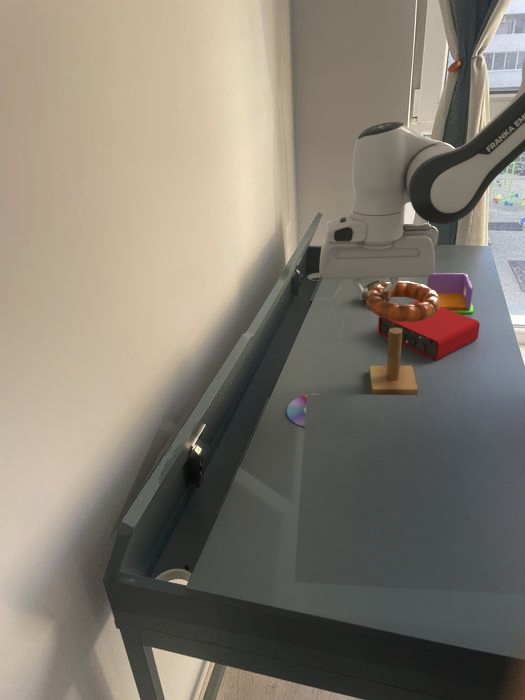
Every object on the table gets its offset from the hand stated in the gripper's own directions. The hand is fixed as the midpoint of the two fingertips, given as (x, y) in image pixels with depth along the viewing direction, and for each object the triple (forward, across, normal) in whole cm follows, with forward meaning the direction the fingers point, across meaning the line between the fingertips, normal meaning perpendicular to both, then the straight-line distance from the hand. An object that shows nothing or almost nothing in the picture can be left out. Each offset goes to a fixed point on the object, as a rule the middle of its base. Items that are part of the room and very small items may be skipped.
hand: (374, 298), depth 98 cm
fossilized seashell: (+21, -5, -44) cm, 50 cm away
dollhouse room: (+21, -23, -41) cm, 52 cm away
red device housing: (+21, -15, -23) cm, 35 cm away
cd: (+21, +11, +6) cm, 25 cm away
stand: (+21, -5, -4) cm, 22 cm away
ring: (+1, -5, 0) cm, 5 cm away
